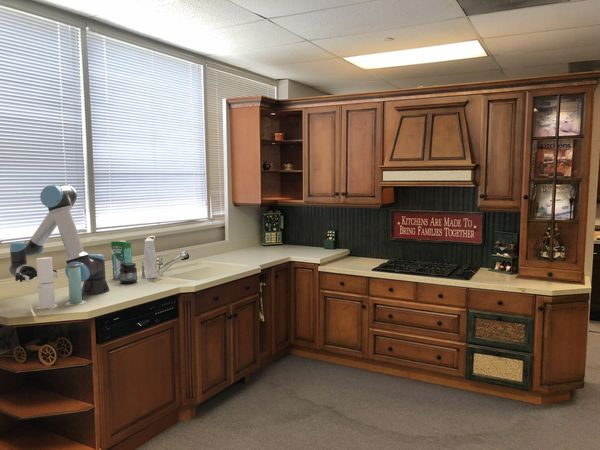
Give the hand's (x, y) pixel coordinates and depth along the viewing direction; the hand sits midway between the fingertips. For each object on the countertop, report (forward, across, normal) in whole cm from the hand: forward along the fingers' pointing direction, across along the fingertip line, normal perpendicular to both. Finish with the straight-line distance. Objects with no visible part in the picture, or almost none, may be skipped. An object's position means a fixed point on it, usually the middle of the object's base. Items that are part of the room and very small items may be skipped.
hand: (42, 277), depth 250 cm
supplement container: (-24, -61, -17) cm, 67 cm away
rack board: (+4, -6, -16) cm, 18 cm away
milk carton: (-42, -67, -17) cm, 81 cm away
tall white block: (+2, 0, -15) cm, 15 cm away
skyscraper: (-26, -78, -17) cm, 84 cm away
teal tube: (+6, -13, -15) cm, 21 cm away
